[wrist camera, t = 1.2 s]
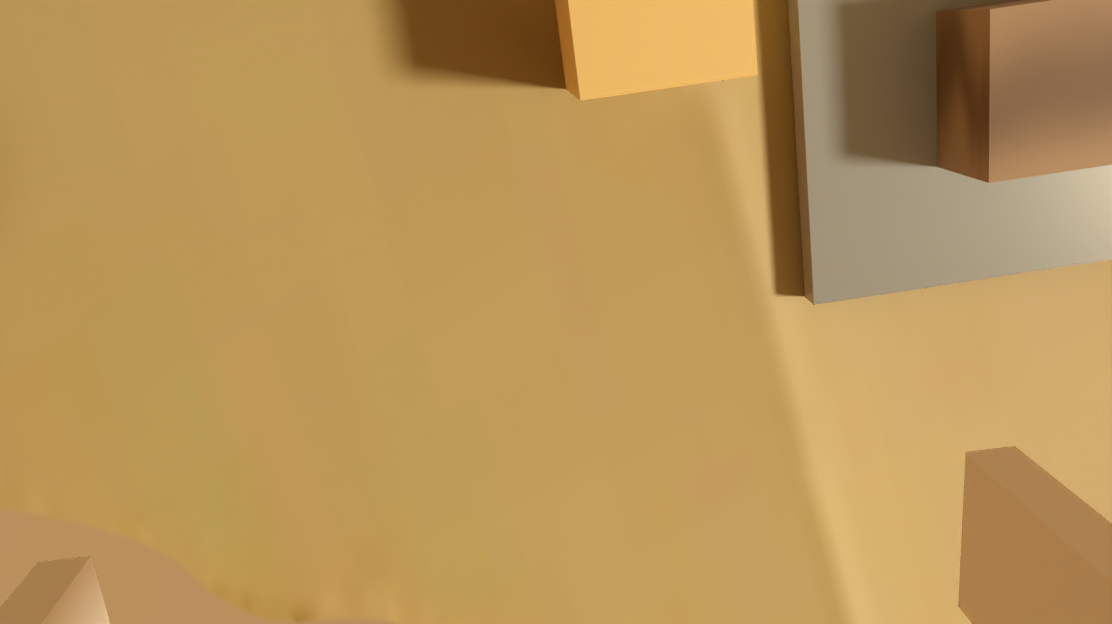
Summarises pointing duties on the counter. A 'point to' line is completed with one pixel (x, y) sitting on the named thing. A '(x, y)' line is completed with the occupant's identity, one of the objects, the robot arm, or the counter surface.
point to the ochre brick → (653, 44)
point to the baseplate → (911, 167)
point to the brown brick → (1024, 88)
